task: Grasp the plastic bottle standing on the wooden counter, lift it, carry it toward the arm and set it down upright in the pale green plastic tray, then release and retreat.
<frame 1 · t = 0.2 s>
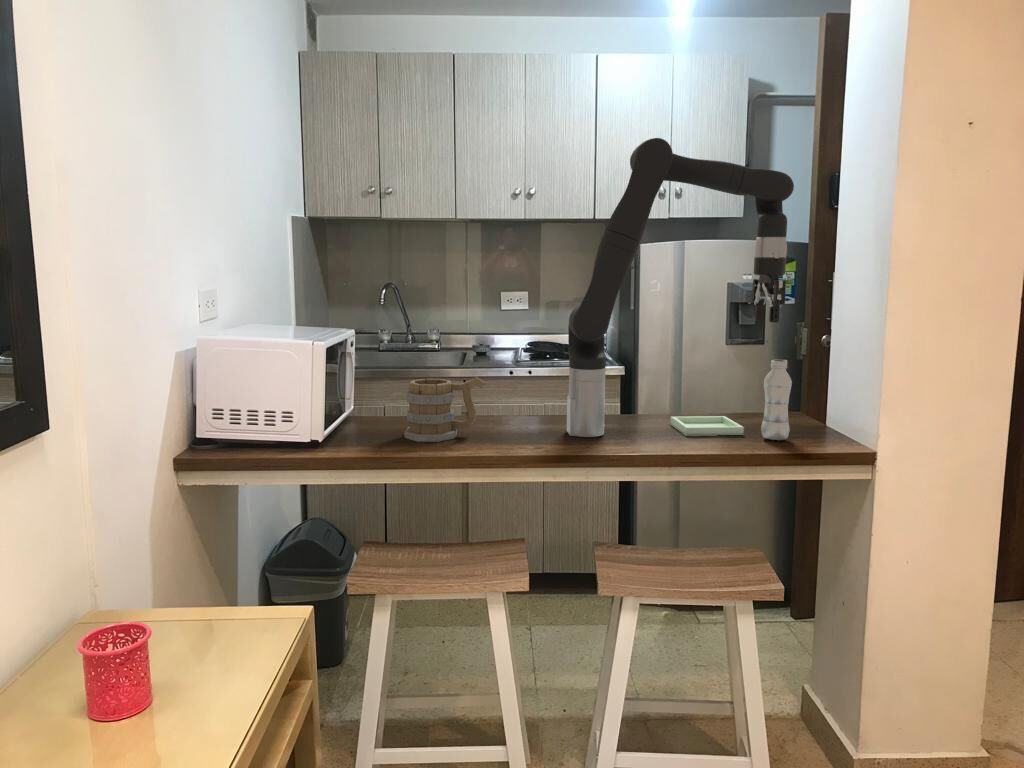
hand: (766, 320, 186), 29 cm above the worktop, fingers open, 8 cm apart
tray: (705, 429, 195), on the worktop
tankard: (445, 437, 186), on the worktop
plastic bottle: (774, 440, 184), on the worktop
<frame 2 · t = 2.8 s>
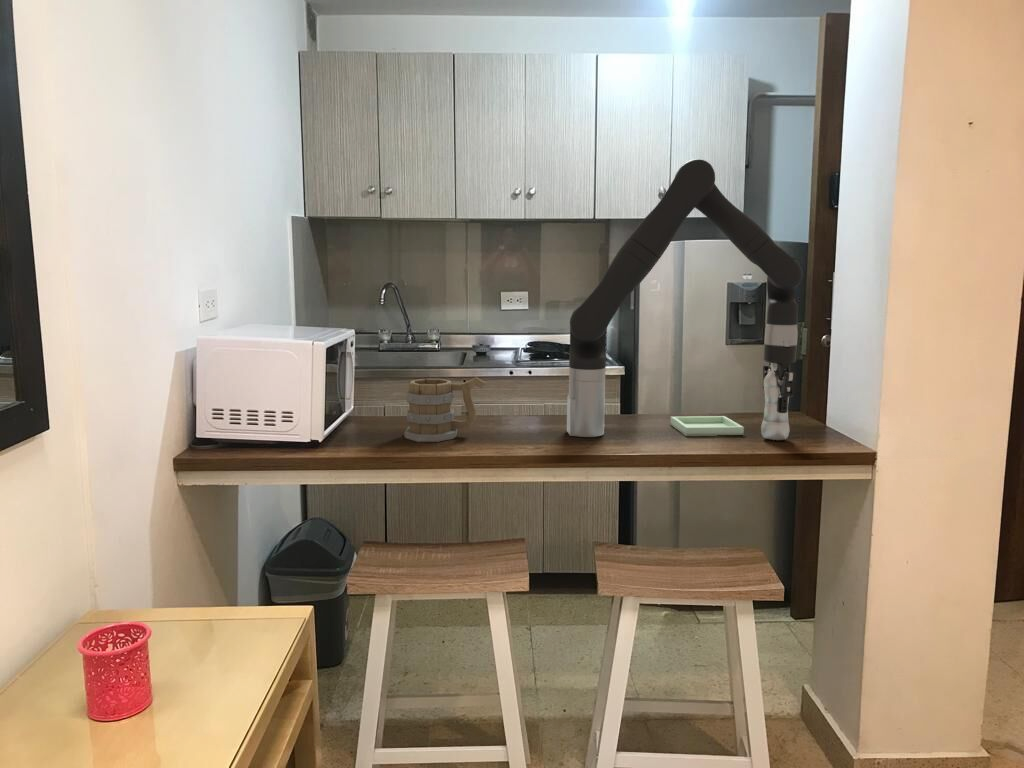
hand: (776, 409, 183), 8 cm above the worktop, fingers closed on plastic bottle, 6 cm apart
plastic bottle: (774, 440, 184), on the worktop, touching gripper
everything else where it was.
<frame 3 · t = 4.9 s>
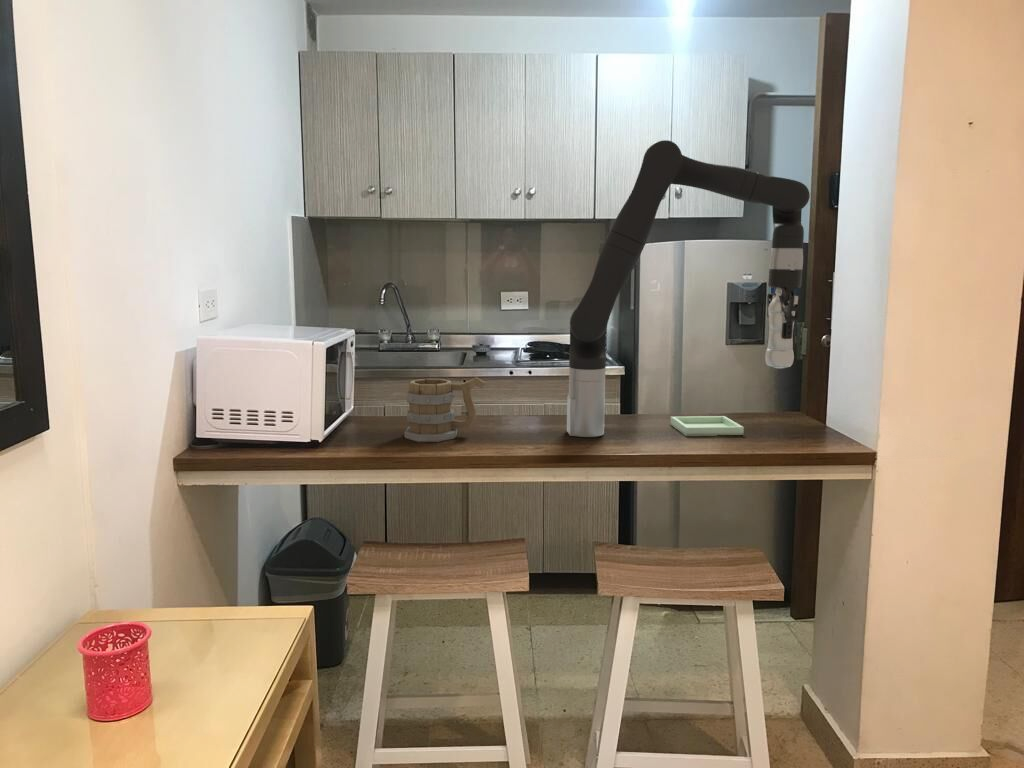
hand: (780, 337, 180), 26 cm above the worktop, fingers closed on plastic bottle, 6 cm apart
plastic bottle: (778, 368, 181), point 18 cm above the worktop, touching gripper
everything else where it was.
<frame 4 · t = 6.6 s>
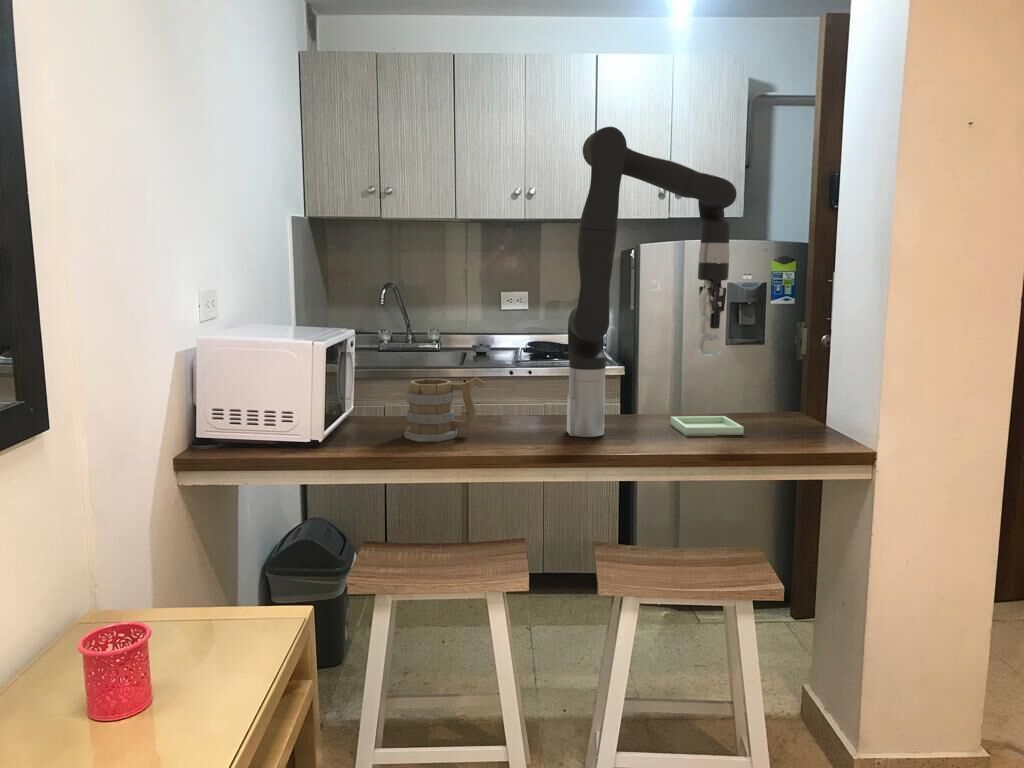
hand: (710, 327, 190), 27 cm above the worktop, fingers closed on plastic bottle, 6 cm apart
plastic bottle: (708, 356, 192), point 19 cm above the worktop, touching gripper
everything else where it was.
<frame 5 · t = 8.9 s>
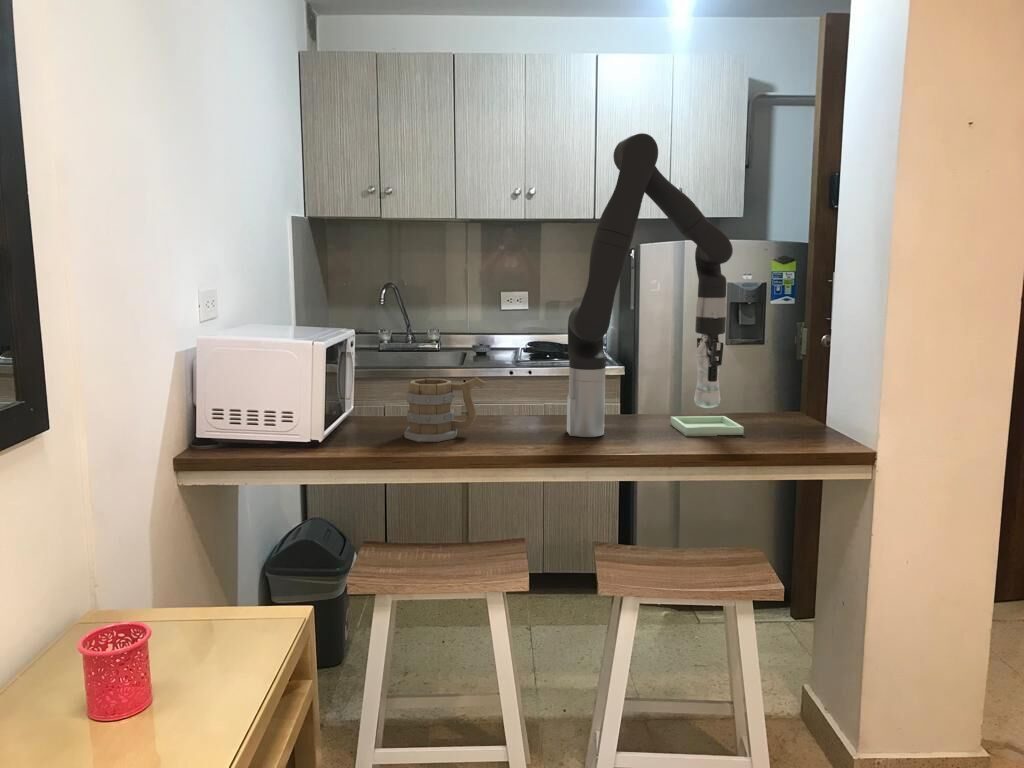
hand: (708, 379, 192), 14 cm above the worktop, fingers closed on plastic bottle, 6 cm apart
plastic bottle: (706, 408, 194), point 6 cm above the worktop, touching gripper
everything else where it was.
when the fingers open (9 cm above the worktop, at t = 10.5 s): plastic bottle stays where it is, resting on tray.
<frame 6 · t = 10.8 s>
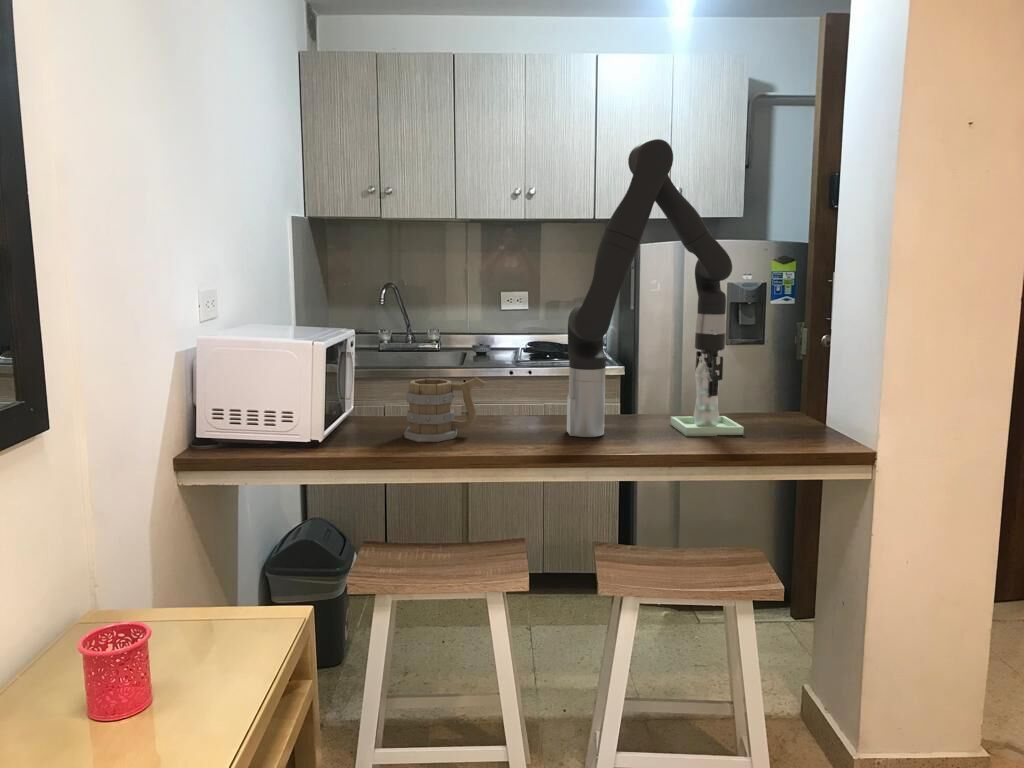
hand: (707, 393, 193), 10 cm above the worktop, fingers open, 8 cm apart
plastic bottle: (705, 428, 194), resting on tray
everything else where it was.
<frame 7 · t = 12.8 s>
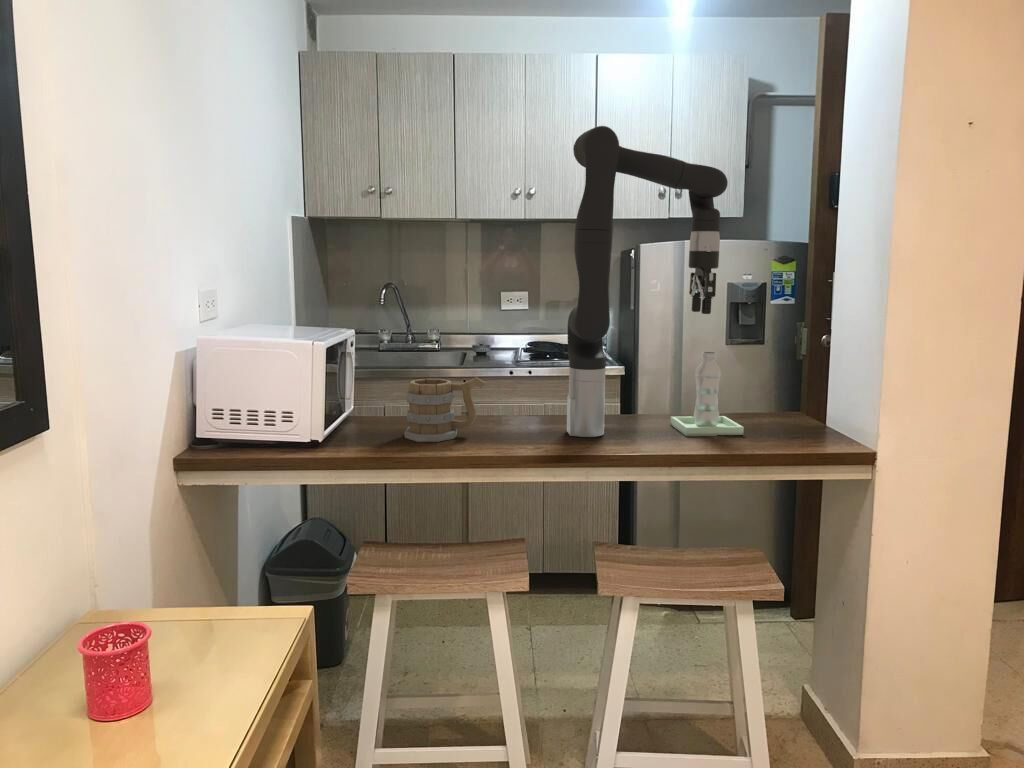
hand: (700, 312, 192), 31 cm above the worktop, fingers open, 8 cm apart
nothing on the worktop moved.
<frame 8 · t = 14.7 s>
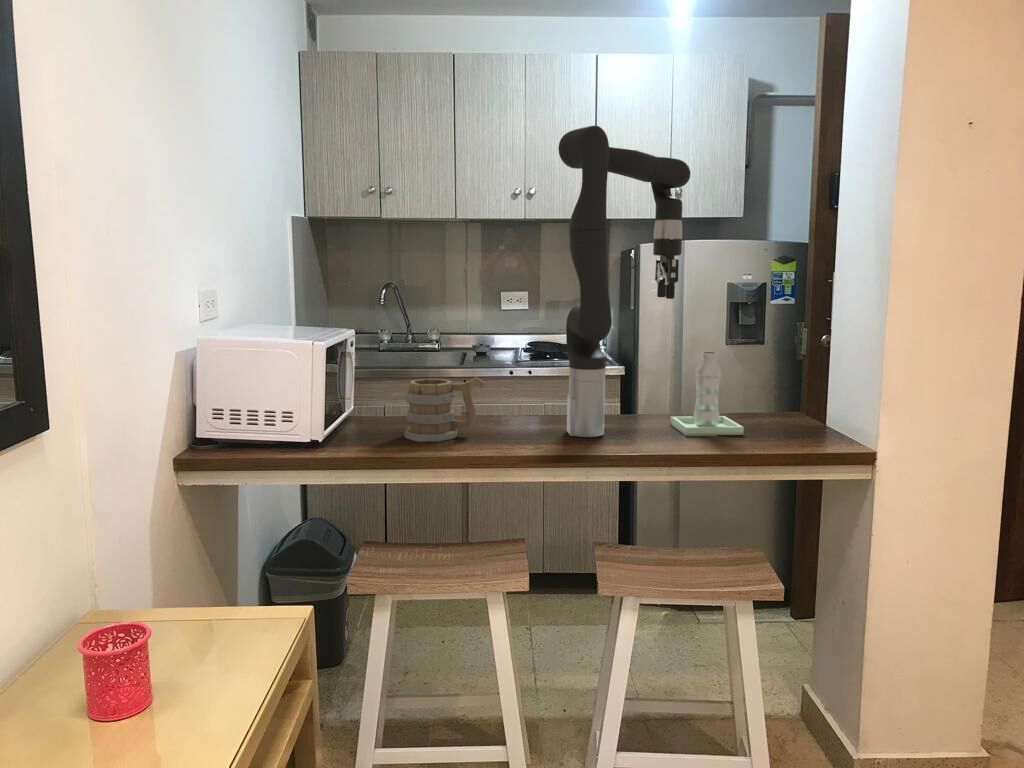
hand: (665, 298, 201), 34 cm above the worktop, fingers open, 8 cm apart
nothing on the worktop moved.
at the end: plastic bottle inside the target area on the tray (0.2 cm from its centre), point 0.4 cm above the tray's base; plastic bottle tilted 0°; the gripper is holding nothing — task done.
